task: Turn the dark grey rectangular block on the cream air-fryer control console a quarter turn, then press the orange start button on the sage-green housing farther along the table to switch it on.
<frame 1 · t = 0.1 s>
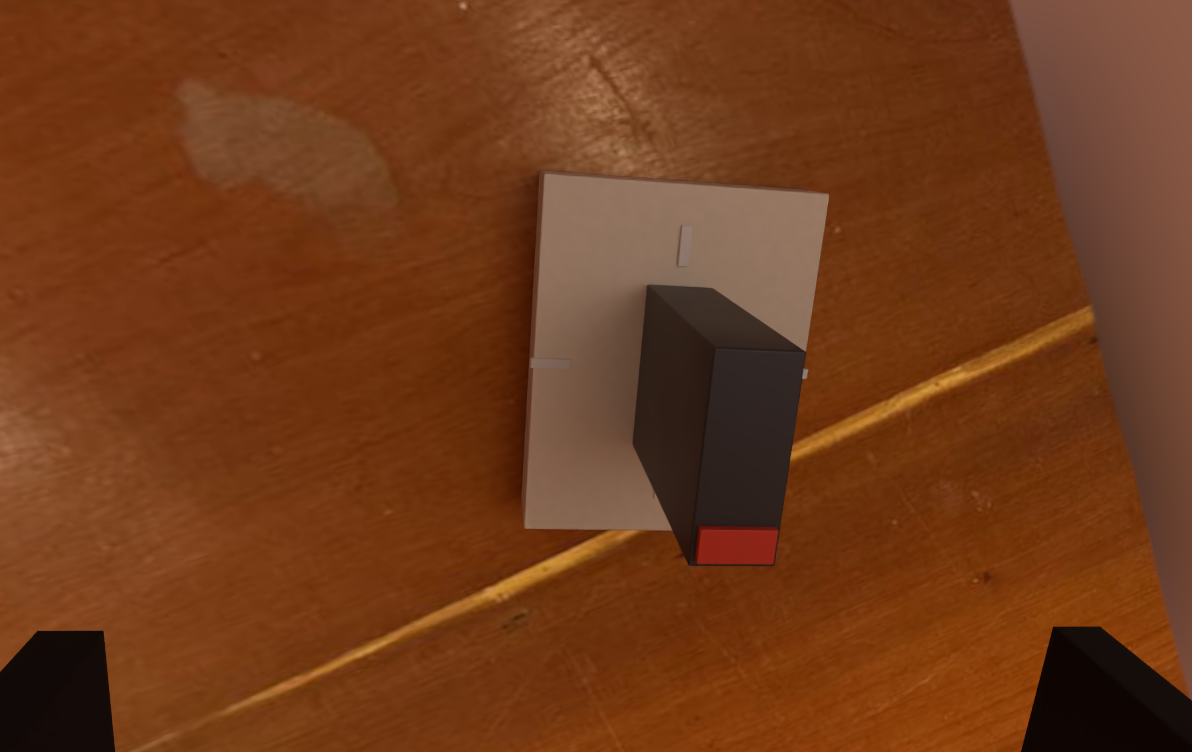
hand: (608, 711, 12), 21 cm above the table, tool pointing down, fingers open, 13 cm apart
dark grey rectangular block: (703, 408, 25), point 7 cm above the table, hinge at 0.0°
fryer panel: (658, 350, 32), on the table
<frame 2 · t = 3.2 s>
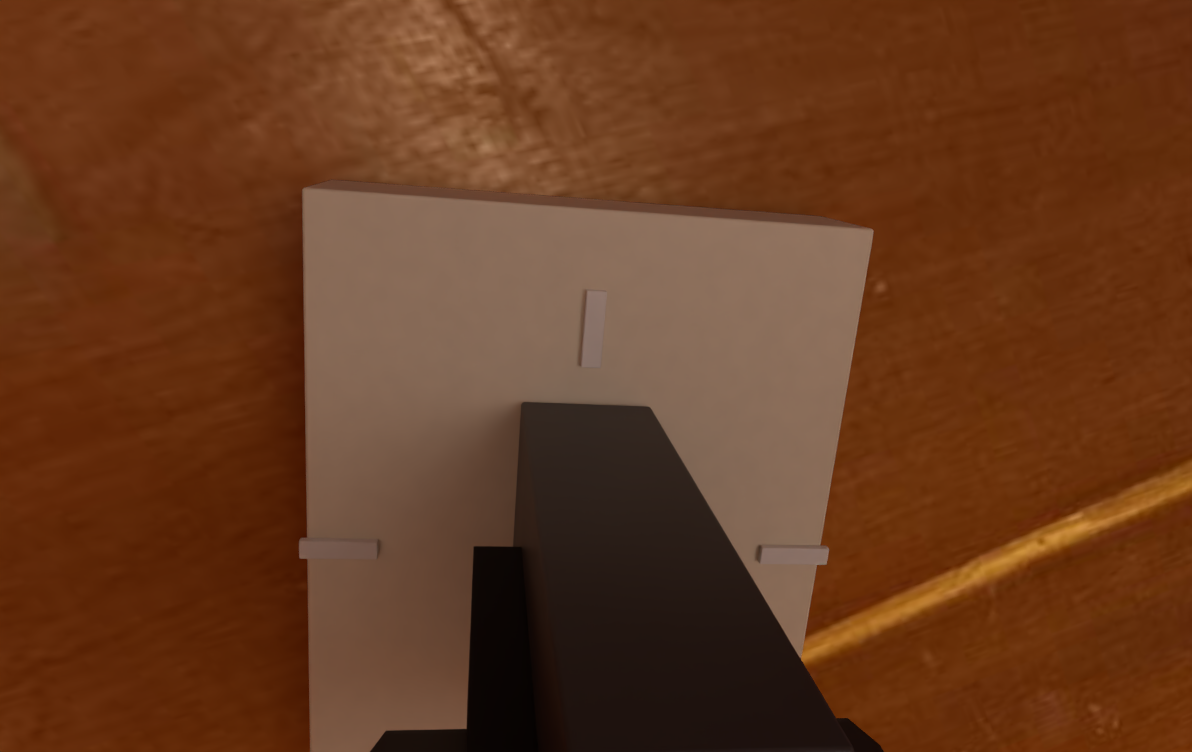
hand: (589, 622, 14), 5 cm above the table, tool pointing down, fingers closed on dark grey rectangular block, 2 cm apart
dark grey rectangular block: (608, 709, 12), point 7 cm above the table, hinge at 0.1°, touching gripper
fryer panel: (563, 496, 18), on the table
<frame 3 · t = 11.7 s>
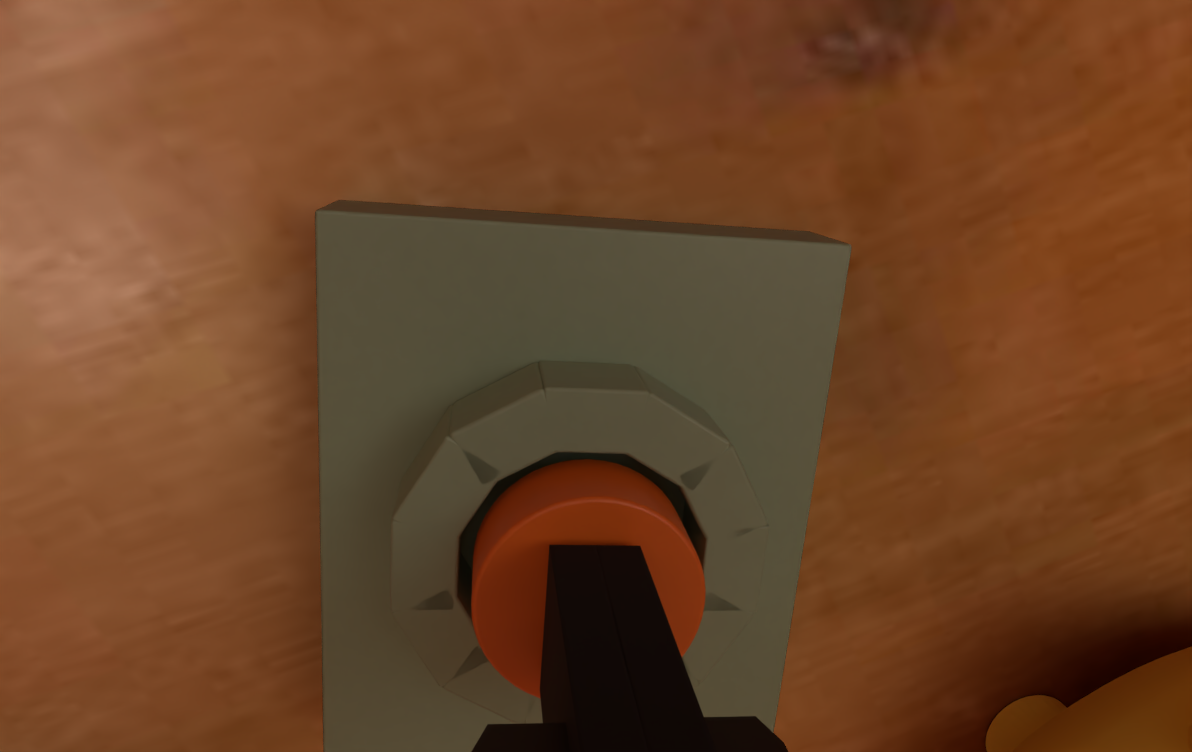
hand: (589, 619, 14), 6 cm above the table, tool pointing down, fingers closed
start button: (585, 579, 15), point 4 cm above the table, slide at 0.0 cm, touching gripper
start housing: (564, 481, 19), on the table
teapot: (1136, 750, 24), on the table
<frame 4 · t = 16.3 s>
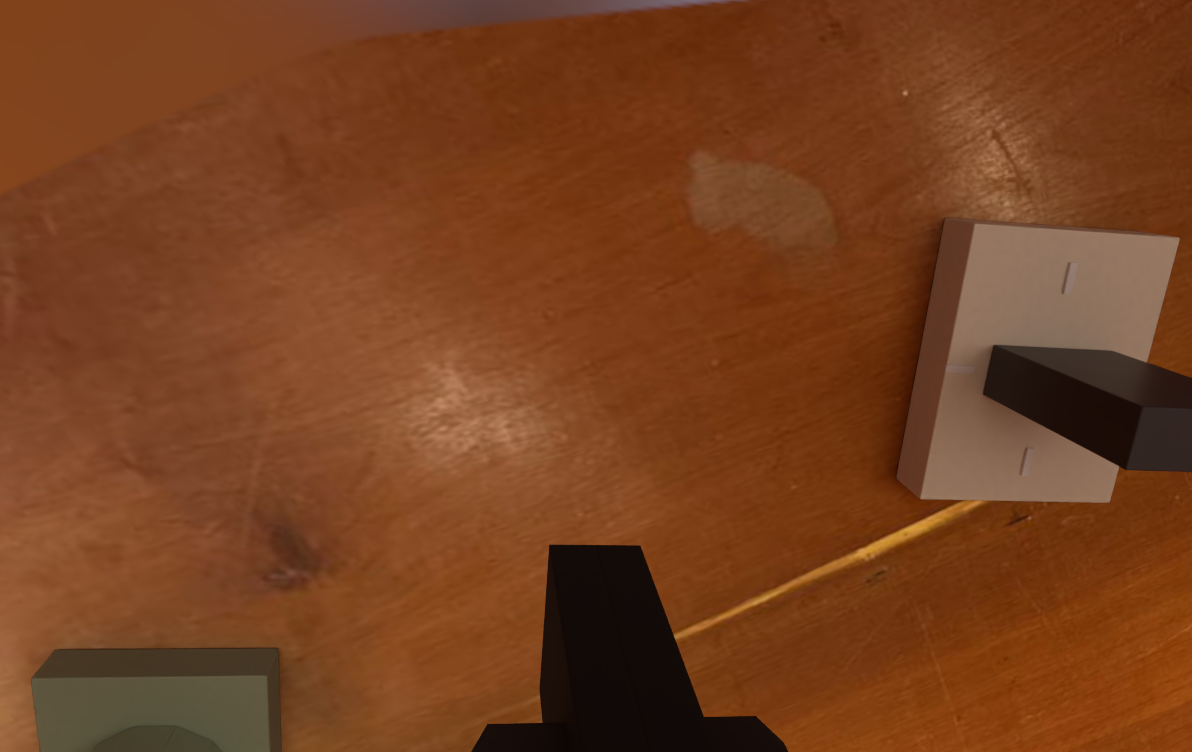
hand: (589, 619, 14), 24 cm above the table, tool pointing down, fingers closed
dark grey rectangular block: (1120, 403, 34), point 7 cm above the table, hinge at 89.9°
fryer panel: (1014, 358, 41), on the table
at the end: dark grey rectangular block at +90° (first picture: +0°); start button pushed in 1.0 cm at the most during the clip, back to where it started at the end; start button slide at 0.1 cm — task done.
